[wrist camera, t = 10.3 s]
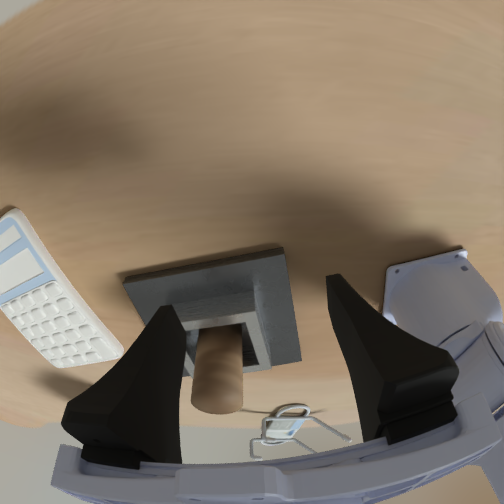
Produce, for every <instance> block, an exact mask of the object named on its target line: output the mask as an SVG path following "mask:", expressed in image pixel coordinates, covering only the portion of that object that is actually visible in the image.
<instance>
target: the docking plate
mask: <svg viewBox="0 0 504 504" xmlns="http://www.w3.org/2000/svg"><path fill="white" fill-rule="evenodd" d="M123 286H124V288H125V290H126V292H127V293H128V295H129V297H130V299H131V301H132V302H133V304H134V306H135V308H136V309H137V311H138V313H139V315H140V316H141V318H142V320H143V321H144V323H145V325H147V324H148V323H149V321H150V320H151V318H152V317H153V315H154V314H155V313H156V311H157V310H158V308H159V307H160V306H164V305H171V304H172V306H173V308H174V310H175V312H176V314H177V316H178V318H179V320H180V322H181V324H182V326H183V327H184V329H185V331H186V333H187V335H186V356H185V363H184V369H183V375H182V377H185V376H191V377H192V379H193V375H194V367H195V358H196V350H197V341H198V333H199V329H202V328H209V327H216V326H223V325H230V324H236V323H240V324H241V326H242V362H243V373H248V372H255V371H262V370H268V369H272V366H276V365H282V364H288V363H293V362H299V361H302V358H301V351H300V345H299V338H298V332H297V326H296V319H295V313H294V307H293V301H292V295H291V289H290V283H289V277H288V271H287V265H286V260H285V254H284V249H283V247H282V248H277V249H272V250H266V251H261V252H256V253H251V254H246V255H240V256H235V257H230V258H225V259H219V260H214V261H209V262H204V263H198V264H193V265H188V266H183V267H178V268H172V269H167V270H162V271H157V272H151V273H146V274H141V275H135V276H130V277H126V278H125V280H124V282H123Z"/></svg>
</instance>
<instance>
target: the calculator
mask: <svg viewBox="0 0 504 504" xmlns="http://www.w3.org/2000/svg"><path fill="white" fill-rule="evenodd" d="M0 309H1V310H2V311H3V312H4V313H5V315H6V316H7V317H8V318H9V319H10V321H11V322H12V323H13V324H14V325H15V326H16V328H17V329H18V330H19V331H20V332H21V333H22V334H23V335H24V336H25V338H26V339H27V340H28V341H29V342H30V343H31V344H32V345H33V346H34V347H35V348H36V349H37V350H38V351H39V352H40V353H41V354H42V355H43V356H44V357H45V358H46V359H47V360H48V361H49V362H50V363H51V364H52V365H54V366H55V367H57V368H66V367H73V366H79V365H86V364H92V363H98V362H103V361H109V360H114V359H118V358H120V357H121V356H122V355H123V352H124V348H123V346H122V345H121V344H120V342H119V341H118V340H117V339H116V338H115V337H114V336H113V334H112V333H111V332H110V331H109V330H108V329H107V328H106V326H105V325H104V324H103V323H102V322H101V321H100V319H99V318H98V317H97V316H96V315H95V313H94V312H93V311H92V310H91V308H90V307H89V306H88V305H87V304H86V302H85V301H84V300H83V299H82V297H81V296H80V295H79V293H78V292H77V291H76V290H75V288H74V287H73V286H72V284H71V283H70V282H69V280H68V279H67V278H66V276H65V275H64V273H63V272H62V271H61V269H60V268H59V266H58V265H57V264H56V262H55V261H54V259H53V258H52V256H51V255H50V253H49V252H48V251H47V249H46V248H45V246H44V245H43V243H42V241H41V240H40V238H39V237H38V235H37V234H36V232H35V231H34V229H33V227H32V226H31V224H30V222H29V221H28V219H27V218H26V216H25V215H24V214H23V212H22V211H21V210H20V209H18V208H14V209H11V210H10V211H8V212H7V213H6V214H4V215H3V216H2V217H1V218H0ZM54 318H55V319H54Z"/></svg>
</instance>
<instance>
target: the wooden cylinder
mask: <svg viewBox="0 0 504 504" xmlns="http://www.w3.org/2000/svg"><path fill="white" fill-rule="evenodd" d="M191 403H192V405H193V406H194V407H195V408H197V409H198V410H200V411H203V412H206V413H210V414H229V413H233V412H236V411H238V410H239V409H241V408H242V406H243V362H242V326H241V324H240V323H236V324H230V325H223V326H216V327H209V328H202V329H199V333H198V341H197V350H196V358H195V367H194V375H193V385H192V394H191Z"/></svg>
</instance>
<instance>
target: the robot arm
mask: <svg viewBox="0 0 504 504" xmlns="http://www.w3.org/2000/svg"><path fill="white" fill-rule="evenodd" d="M466 257H467V250H466V249H460V250H456V251H452V252H448V253H444V254H440V255H436V256H432V257H428V258H424V259H420V260H415V261H411V262H407V263H403V264H398V265H394V266H390V267H389V268H388V269H387V271H386V283H385V294H384V304H383V313H382V315H381V314H380V313H379V312H378V311H376V310H375V309H374V308H373V307H372V306H371V305H369V304H368V303H367V302H366V301H365V300H364V299H363V298H362V297H361V296H360V295H359V294H358V293H357V292H356V291H355V290H354V289H353V288H352V287H351V286H350V285H349V284H348V282H347V281H346V280H345V279H344V278H343V277H342V275H340V274H334V275H329V276H326V285H327V299H328V310H329V314H330V318H331V322H332V326H333V329H334V332H335V334H336V337H337V340H338V342H339V345H340V348H341V350H342V353H343V356H344V358H345V361H346V364H347V367H348V370H349V373H350V377H351V381H352V385H353V390H354V394H355V399H356V403H357V408H358V413H359V418H360V424H361V429H362V436H363V442H364V443H360V444H356V445H352V446H348V447H344V448H339V449H335V450H330V451H325V452H320V453H314V454H309V455H303V456H297V457H290V458H282V459H275V460H266V461H256V462H243V463H227V464H226V463H225V464H182V457H181V448H180V433H179V398H180V388H181V382H182V375H183V369H184V363H185V356H186V335H187V333H186V331H185V329H184V327H183V326H182V324H181V322H180V320H179V318H178V316H177V314H176V312H175V310H174V308H173V306H172V304H171V305H164V306H160V307H159V308H158V310H157V311H156V313H155V314H154V315H153V317H152V318H151V320H150V321H149V323H148V324H147V325H146V327H145V328H144V330H143V331H142V332H141V334H140V335H139V337H138V338H137V339H136V341H135V342H134V343H133V344H132V346H131V347H130V348H129V349H128V351H127V352H126V353H125V354H124V356H123V357H122V358H121V359H120V360H119V361H118V362H117V363H116V364H115V365H114V366H113V368H112V369H110V370H109V371H108V372H107V373H106V374H105V375H104V376H103V377H102V378H101V379H100V380H98V381H97V382H96V383H95V384H94V385H92V386H91V387H90V388H88V389H87V390H86V391H84V392H83V393H81V394H80V395H78V396H77V397H75V398H74V399H72V400H71V401H69V402H68V403H67V406H66V409H65V412H64V415H63V418H62V421H61V425H62V427H63V428H64V430H65V431H66V432H68V433H69V434H70V435H72V436H73V437H74V438H76V439H77V440H78V441H80V442H81V443H82V444H84V445H83V449H80V448H78V447H74V446H69V445H65V444H61V445H60V448H59V451H58V456H57V459H56V463H55V467H54V471H53V476H52V480H51V485H52V486H53V487H55V488H57V489H59V490H61V491H63V492H65V493H67V494H70V495H72V496H74V497H76V498H78V499H81V500H83V501H87V502H90V503H94V504H374V503H377V502H380V501H383V500H386V499H389V498H392V497H395V496H398V495H400V494H403V493H406V492H408V491H411V490H414V489H416V488H418V487H421V486H423V485H426V484H428V483H430V482H432V481H435V480H437V479H439V478H441V477H443V476H445V475H448V474H450V473H452V472H454V471H456V470H458V469H460V468H462V467H464V466H466V465H478V466H481V467H482V469H483V471H484V473H485V474H486V476H487V478H488V480H489V481H490V484H491V486H492V488H493V490H494V492H495V494H496V495H497V497H498V499H499V501H500V503H501V504H504V406H503V407H502V408H500V409H499V410H498V411H497V412H495V413H494V414H493V415H492V413H493V412H494V411H495V410H496V409H498V408H499V407H500V406H501V405H502V404H503V403H504V324H503V323H502V320H503V315H502V309H501V305H500V302H499V299H498V297H497V295H496V293H495V292H494V291H493V289H492V288H491V287H490V286H489V284H488V283H487V282H486V281H485V280H484V278H483V277H482V276H481V275H480V274H479V273H478V271H477V270H476V269H475V268H474V267H473V266H472V264H471V263H470V262H469V261H468V260H467V259H466ZM397 269H398V270H397ZM396 270H397V271H396ZM396 324H397V325H398V326H396Z"/></svg>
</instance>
